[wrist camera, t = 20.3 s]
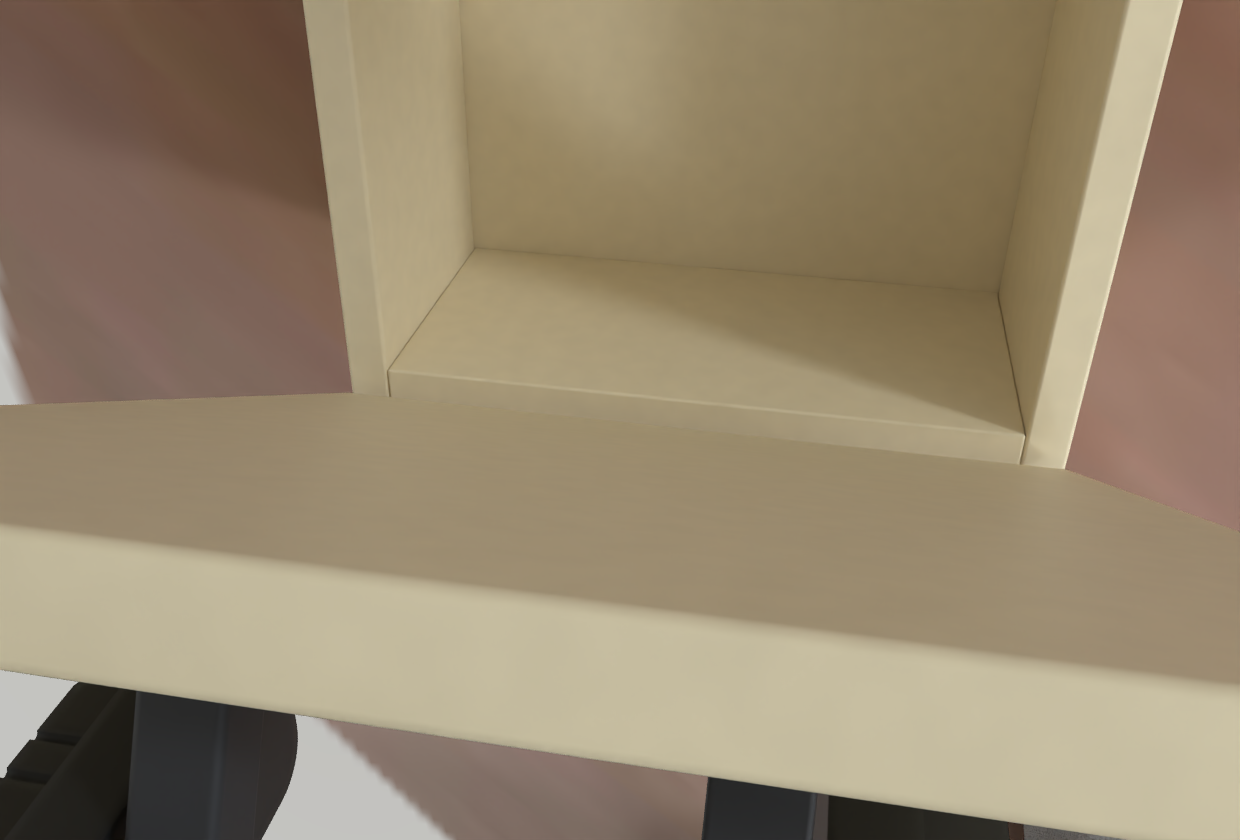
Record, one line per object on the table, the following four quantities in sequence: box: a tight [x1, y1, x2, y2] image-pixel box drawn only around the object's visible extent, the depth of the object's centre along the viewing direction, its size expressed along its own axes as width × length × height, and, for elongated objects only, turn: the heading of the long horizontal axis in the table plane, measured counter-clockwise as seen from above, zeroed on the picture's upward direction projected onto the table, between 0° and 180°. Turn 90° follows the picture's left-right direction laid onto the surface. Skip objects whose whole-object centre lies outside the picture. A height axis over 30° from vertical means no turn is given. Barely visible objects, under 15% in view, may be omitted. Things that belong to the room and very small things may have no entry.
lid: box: [0, 393, 1240, 840], centre depth 14 cm, size 16×14×5 cm
